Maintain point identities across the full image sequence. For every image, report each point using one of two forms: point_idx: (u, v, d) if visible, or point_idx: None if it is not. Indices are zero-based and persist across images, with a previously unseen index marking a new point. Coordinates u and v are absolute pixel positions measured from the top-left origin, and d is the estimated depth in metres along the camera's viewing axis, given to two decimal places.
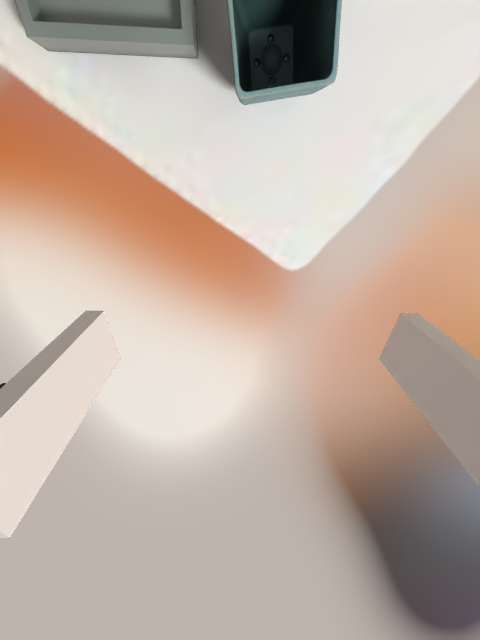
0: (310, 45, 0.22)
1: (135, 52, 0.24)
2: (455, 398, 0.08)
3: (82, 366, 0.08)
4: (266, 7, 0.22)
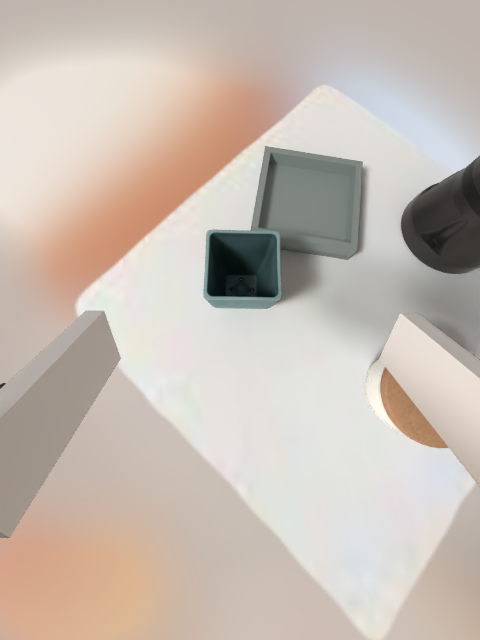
0: None
1: None
2: (455, 398, 0.08)
3: (82, 366, 0.08)
4: (262, 282, 0.33)
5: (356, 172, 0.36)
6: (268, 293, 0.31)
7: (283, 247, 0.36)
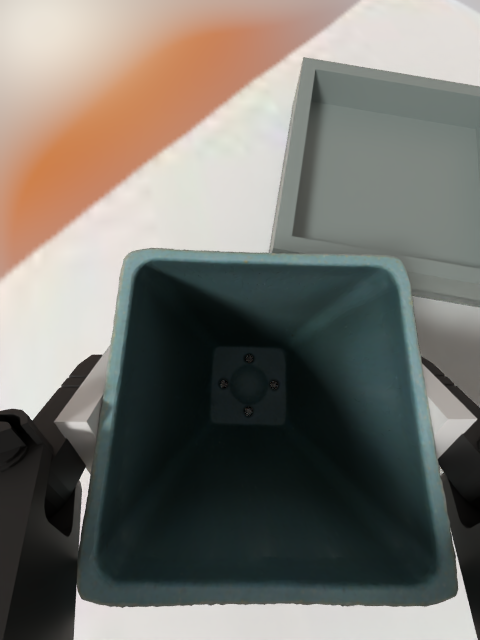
0: (246, 463, 0.11)
1: (280, 187, 0.17)
2: None
3: None
4: (304, 377, 0.13)
5: None
6: (331, 431, 0.10)
7: None
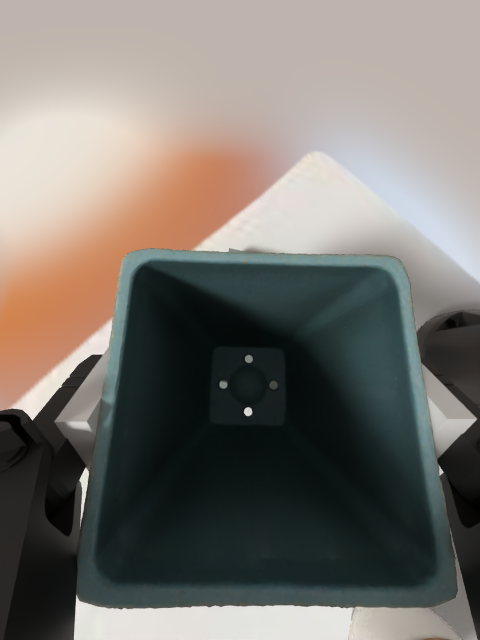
0: (245, 464, 0.11)
1: None
2: None
3: None
4: (304, 378, 0.13)
5: None
6: (331, 432, 0.10)
7: None
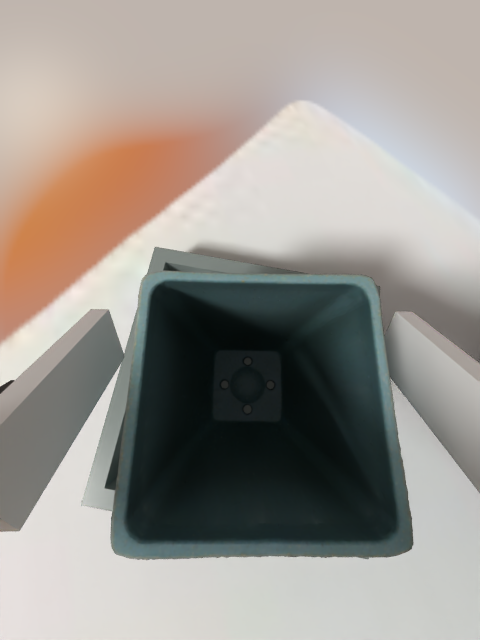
0: (245, 454, 0.12)
1: None
2: (448, 395, 0.08)
3: (88, 364, 0.08)
4: (298, 378, 0.14)
5: None
6: (320, 425, 0.12)
7: None
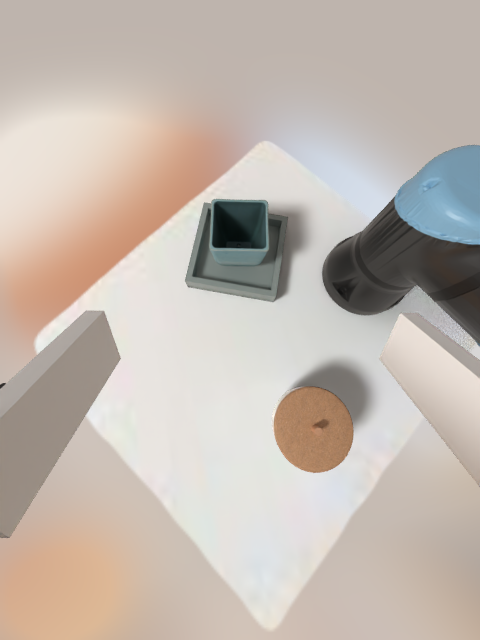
0: None
1: None
2: (455, 398, 0.08)
3: (82, 366, 0.08)
4: (255, 246, 0.41)
5: (281, 226, 0.42)
6: None
7: (217, 291, 0.42)
